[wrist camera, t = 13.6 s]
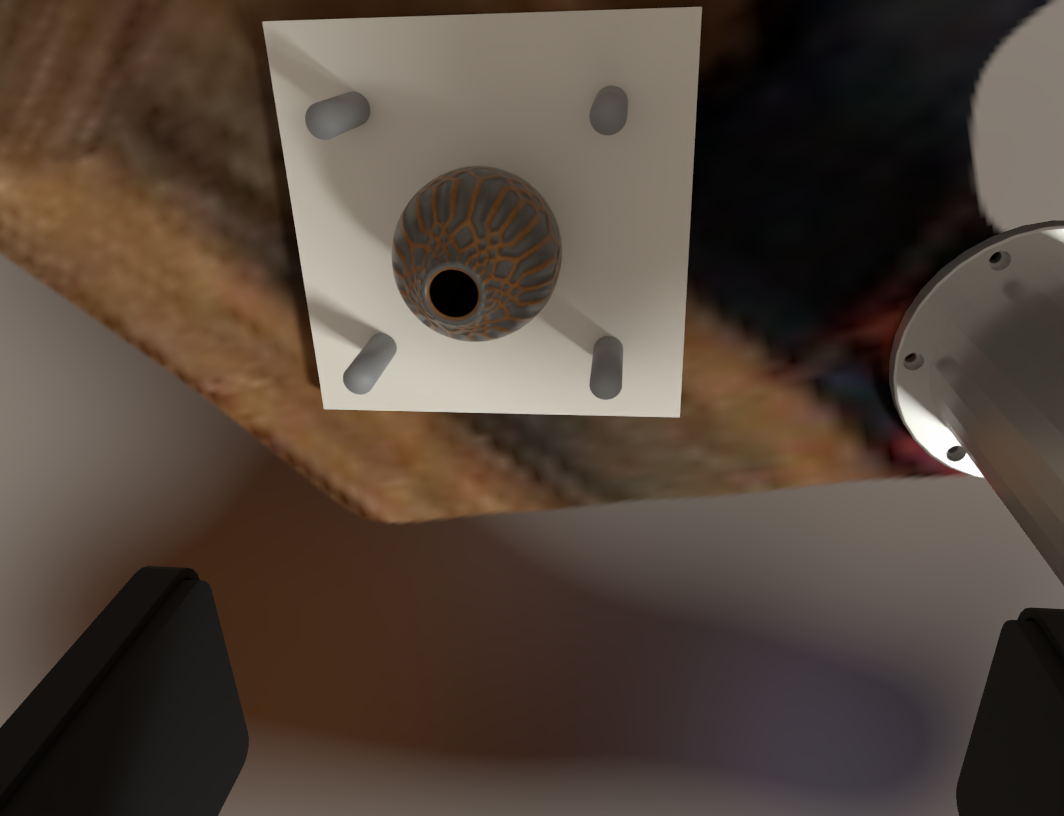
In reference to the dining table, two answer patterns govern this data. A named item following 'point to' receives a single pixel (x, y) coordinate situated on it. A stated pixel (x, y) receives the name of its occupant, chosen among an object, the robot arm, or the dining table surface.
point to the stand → (517, 147)
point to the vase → (476, 253)
